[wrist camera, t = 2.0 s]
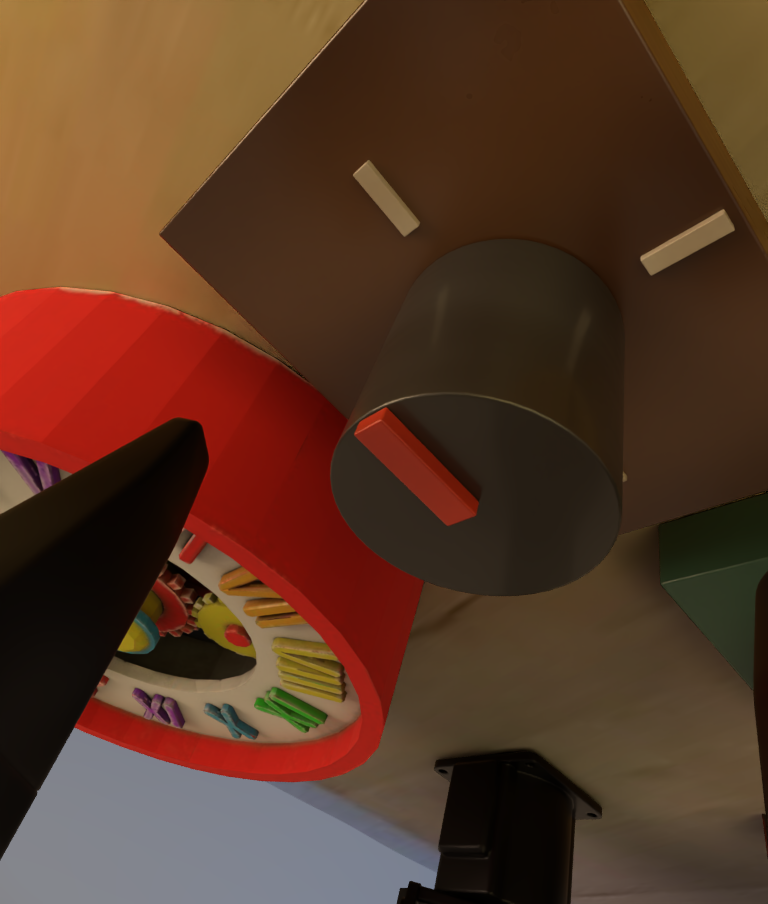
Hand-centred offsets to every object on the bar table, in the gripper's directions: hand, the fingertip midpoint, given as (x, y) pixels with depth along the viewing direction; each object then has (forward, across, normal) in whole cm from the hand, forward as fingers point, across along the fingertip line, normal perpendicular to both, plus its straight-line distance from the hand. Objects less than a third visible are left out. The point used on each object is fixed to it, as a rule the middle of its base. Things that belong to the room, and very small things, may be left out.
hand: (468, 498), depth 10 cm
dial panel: (+7, 0, 0) cm, 7 cm away
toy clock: (+8, +11, +13) cm, 19 cm away
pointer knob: (+4, 0, 0) cm, 4 cm away
